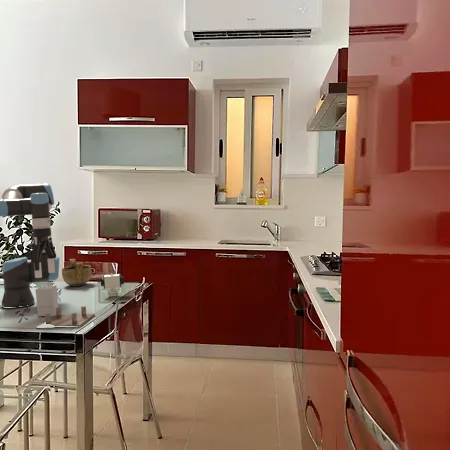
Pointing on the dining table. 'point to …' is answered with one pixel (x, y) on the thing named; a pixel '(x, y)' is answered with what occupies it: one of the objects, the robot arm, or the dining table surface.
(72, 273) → the tan woven basket
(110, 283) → the pneumatic valve
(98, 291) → the dining table surface
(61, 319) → the stub plate
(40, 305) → the supplement box
